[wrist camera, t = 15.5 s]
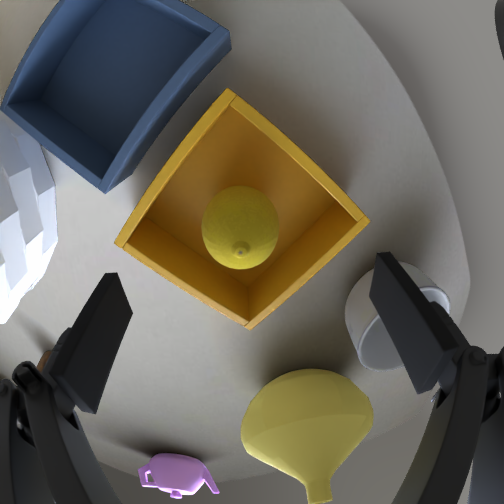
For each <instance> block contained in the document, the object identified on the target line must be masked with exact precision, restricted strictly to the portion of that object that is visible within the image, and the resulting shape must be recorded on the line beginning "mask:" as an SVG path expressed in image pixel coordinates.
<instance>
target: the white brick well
mask: <svg viewBox="0 0 504 504" xmlns="http://www.w3.org/2000/svg"><path fill="white" fill-rule="evenodd" d="M57 241H58V233H57V219H56V195H55V183H54V181H53V178H52V176H51V173H50V171H49V168H48V166H47V163H46V160H45V158H44V155H43V152H42V149H41V146H40V143H39V142H38V141H36V140H35V139H34V138H33V137H32V136H30V135H29V134H28V133H27V132H25V131H24V130H23V129H22V128H21V127H19V126H18V125H17V124H16V123H15V122H14V121H12V120H11V119H10V118H9V117H8V116H7V115H5V114H4V113H3V112H2V111H1V110H0V324H3V323H5V322H6V321H7V320H8V318H9V317H10V315H11V314H12V313H13V311H14V310H15V309H16V307H17V306H18V303H19V300H20V299H21V298H22V297H23V295H24V294H25V293H26V292H27V291H28V290H31V289H33V287H34V286H35V285H36V284H37V283H38V281H39V280H40V279H41V278H42V277H43V275H44V273H45V271H46V268H47V265H48V263H49V260H50V258H51V255H52V253H53V251H54V248H55V246H56V243H57Z"/></svg>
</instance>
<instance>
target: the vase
mask: <svg viewBox="0 0 504 504" xmlns="http://www.w3.org/2000/svg"><path fill="white" fill-rule="evenodd" d="M372 426H373V409H372V406H371V403H370V401H369V398H368V397H367V396H366V395H365V394H364V393H363V392H362V391H361V390H360V389H359V388H358V387H357V386H356V385H355V384H354V383H353V382H352V381H351V380H350V379H348V378H346V377H344V376H341V375H339V374H337V373H335V372H332V371H328V370H321V369H301V370H295V371H292V372H289V373H286V374H284V375H281V376H279V377H277V378H276V379H274V380H272V381H271V382H269V383H268V384H267V385H265V386H264V387H263V388H262V389H261V390H260V391H259V393H258V394H257V395H256V396H255V397H254V398H253V399H252V401H251V402H250V404H249V406H248V408H247V411H246V413H245V415H244V417H243V420H242V424H241V440H242V443H243V445H244V447H245V449H246V451H247V453H249V454H250V455H252V456H253V457H255V458H257V459H259V460H261V461H263V462H265V463H267V464H269V465H271V466H273V467H275V468H277V469H279V470H281V471H283V472H285V473H287V474H289V475H291V476H293V477H295V478H297V479H298V480H299V481H300V482H302V483H303V484H304V485H305V487H306V490H307V498H308V504H320V503H325V502H329V501H332V500H333V499H332V494H331V489H330V479H331V477H332V475H333V474H334V472H335V471H336V469H337V468H338V467H339V466H340V465H341V464H342V463H343V462H344V460H345V459H346V458H347V457H348V456H349V454H350V453H351V452H352V451H353V450H354V449H355V448H356V446H357V445H358V444H359V443H360V442H361V441H362V440H363V438H364V437H365V436H366V435H367V434H368V432H369V431H370V429H371V428H372Z"/></svg>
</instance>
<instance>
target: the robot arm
mask: <svg viewBox="0 0 504 504" xmlns="http://www.w3.org/2000/svg"><path fill="white" fill-rule="evenodd" d="M369 298H370V300H371V301H372V303H373V305H374V307H375V309H376V311H377V312H378V314H379V316H380V318H381V320H382V322H383V324H384V326H385V328H386V330H387V332H388V333H389V335H390V337H391V339H392V341H393V343H394V345H395V347H396V349H397V351H398V353H399V356H400V358H401V360H402V362H403V364H404V366H405V368H406V370H407V372H408V375H409V377H410V379H411V381H412V383H413V386H414V388H415V390H416V392H417V394H420V393H423V392H426V391H429V390H432V388H433V387H434V386H435V384H436V383H437V381H438V382H439V385H440V389H439V390H438V391H437V392H436V394H435V395H434V396H433V398H432V400H431V402H433V401H434V400H435V403H434V406H433V409H432V413H431V416H430V419H429V421H428V424H427V427H426V430H425V433H424V436H423V438H422V441H421V443H420V446H419V448H418V451H417V453H416V455H415V458H414V460H413V462H412V465H411V467H410V469H409V471H408V473H407V475H406V477H405V479H404V481H403V483H402V485H401V487H400V489H399V491H398V493H397V495H396V496H395V498H394V500H393V502H392V504H457V502H458V500H459V497H460V495H461V492H462V490H463V487H464V484H465V481H466V478H467V476H468V473H469V470H470V466H471V463H472V460H473V467H472V476H471V485H470V491H469V497H468V502H467V504H504V347H503V348H502V349H501V351H500V353H499V354H486V352H485V351H484V350H483V349H482V348H479V347H477V346H470V345H469V343H468V341H467V340H466V339H465V337H464V335H463V334H462V333H461V331H460V330H459V328H458V327H457V325H456V324H455V323H454V321H453V320H452V318H451V317H449V314H448V313H447V311H446V310H445V309H444V307H442V306H441V305H440V304H438V303H437V302H436V301H432V302H429V301H428V299H427V298H426V297H425V295H424V294H423V293H422V291H421V290H420V289H419V287H418V286H417V285H416V284H415V282H414V281H413V280H412V278H411V277H410V276H409V275H408V273H407V272H406V271H405V270H404V268H403V267H402V266H401V265H400V263H399V262H398V261H397V260H396V259H395V257H394V256H393V255H392V254H391V253H390V252H381V253H377V256H376V261H375V267H374V272H373V277H372V282H371V287H370V292H369ZM132 314H133V312H132V310H131V307H130V305H129V302H128V300H127V297H126V295H125V292H124V289H123V287H122V284H121V281H120V279H119V276H118V273H105V274H104V276H103V277H102V279H101V280H100V282H99V283H98V285H97V286H96V288H95V290H94V291H93V293H92V294H91V296H90V298H89V299H88V301H87V302H86V304H85V306H84V307H83V309H82V311H81V312H80V314H79V316H78V317H77V319H76V321H75V323H74V324H73V326H72V328H69V327H68V328H67V329H66V330H65V331H64V332H63V333H62V334H61V336H60V338H59V339H58V341H57V345H55V347H54V349H53V351H52V352H51V354H50V356H49V358H48V360H47V362H46V364H45V366H44V368H43V370H42V372H41V373H40V372H39V370H38V369H37V368H36V366H35V365H34V364H33V363H32V362H30V361H25V362H22V363H21V364H19V365H18V366H17V367H16V368H15V369H14V372H13V374H12V380H13V381H14V382H15V383H16V384H17V385H18V386H14V384H13V383H12V382H11V381H10V380H8V379H3V380H1V381H0V504H122V503H121V502H120V500H119V498H118V497H117V495H116V494H115V492H114V490H113V488H112V487H111V485H110V483H109V482H108V480H107V478H106V476H105V474H104V473H103V471H102V469H101V467H100V465H99V463H98V461H97V459H96V457H95V455H94V453H93V451H92V449H91V447H90V444H89V442H88V440H87V438H86V435H85V433H84V431H83V428H82V426H81V424H80V421H79V419H78V416H77V414H76V412H75V411H74V410H73V409H74V407H75V404H76V405H77V406H78V408H79V409H80V410H81V411H83V412H88V413H92V414H96V412H97V409H98V406H99V403H100V400H101V397H102V394H103V391H104V388H105V385H106V382H107V379H108V376H109V373H110V371H111V368H112V365H113V362H114V360H115V357H116V354H117V352H118V349H119V347H120V344H121V341H122V339H123V336H124V334H125V331H126V329H127V326H128V324H129V322H130V319H131V317H132ZM499 392H500V393H501V398H500V394H499ZM435 398H436V399H435ZM17 421H18V422H19V423H20V428H18V427H17Z"/></svg>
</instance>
